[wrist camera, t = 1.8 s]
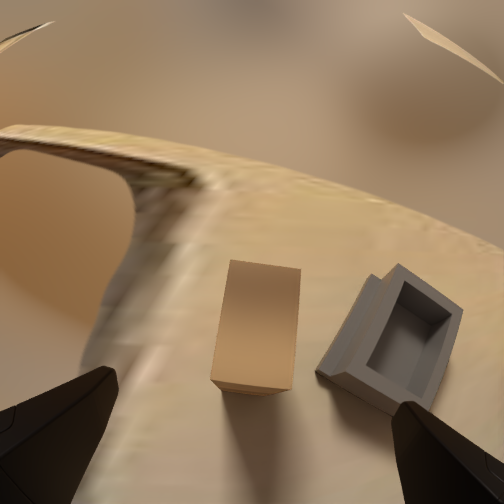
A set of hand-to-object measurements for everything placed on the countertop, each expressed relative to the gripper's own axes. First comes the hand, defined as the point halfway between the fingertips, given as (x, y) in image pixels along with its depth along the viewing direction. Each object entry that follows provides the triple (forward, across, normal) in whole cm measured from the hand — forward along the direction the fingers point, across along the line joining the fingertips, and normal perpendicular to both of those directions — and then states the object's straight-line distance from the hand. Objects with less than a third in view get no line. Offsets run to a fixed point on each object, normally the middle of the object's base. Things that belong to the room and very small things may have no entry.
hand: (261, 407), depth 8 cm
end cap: (+12, -11, +5) cm, 17 cm away
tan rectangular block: (+11, 0, +6) cm, 13 cm away
